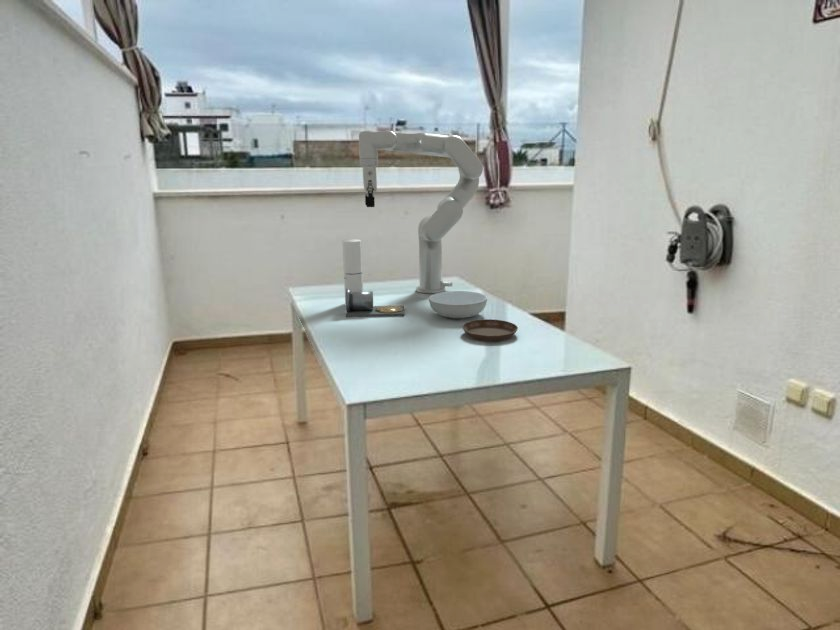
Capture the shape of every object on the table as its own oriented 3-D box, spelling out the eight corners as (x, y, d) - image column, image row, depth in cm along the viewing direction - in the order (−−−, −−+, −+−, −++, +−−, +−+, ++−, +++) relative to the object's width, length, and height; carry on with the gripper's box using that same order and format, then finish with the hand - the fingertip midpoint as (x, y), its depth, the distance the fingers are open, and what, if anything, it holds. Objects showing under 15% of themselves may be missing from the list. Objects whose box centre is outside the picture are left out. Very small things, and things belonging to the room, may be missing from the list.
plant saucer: (516, 345, 180) (517, 335, 179) (459, 342, 183) (459, 333, 182) (518, 329, 197) (518, 320, 196) (465, 327, 200) (465, 318, 199)
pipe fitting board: (404, 308, 225) (403, 285, 223) (404, 316, 213) (403, 291, 211) (348, 309, 225) (347, 285, 222) (345, 317, 213) (344, 292, 211)
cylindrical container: (356, 307, 228) (353, 242, 221) (341, 304, 231) (338, 241, 225) (367, 303, 233) (365, 240, 227) (352, 301, 237) (350, 238, 231)
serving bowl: (423, 310, 222) (423, 292, 220) (477, 307, 226) (477, 289, 224) (436, 325, 202) (436, 305, 200) (494, 321, 206) (495, 301, 204)
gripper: (379, 163, 230) (380, 207, 235) (376, 162, 247) (377, 204, 251) (360, 163, 229) (361, 207, 234) (358, 162, 246) (359, 204, 250)
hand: (369, 206), depth 242 cm, fingers open, 9 cm apart
